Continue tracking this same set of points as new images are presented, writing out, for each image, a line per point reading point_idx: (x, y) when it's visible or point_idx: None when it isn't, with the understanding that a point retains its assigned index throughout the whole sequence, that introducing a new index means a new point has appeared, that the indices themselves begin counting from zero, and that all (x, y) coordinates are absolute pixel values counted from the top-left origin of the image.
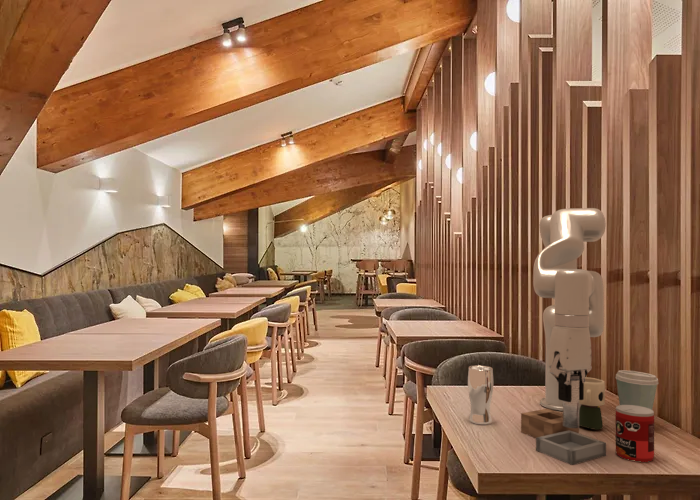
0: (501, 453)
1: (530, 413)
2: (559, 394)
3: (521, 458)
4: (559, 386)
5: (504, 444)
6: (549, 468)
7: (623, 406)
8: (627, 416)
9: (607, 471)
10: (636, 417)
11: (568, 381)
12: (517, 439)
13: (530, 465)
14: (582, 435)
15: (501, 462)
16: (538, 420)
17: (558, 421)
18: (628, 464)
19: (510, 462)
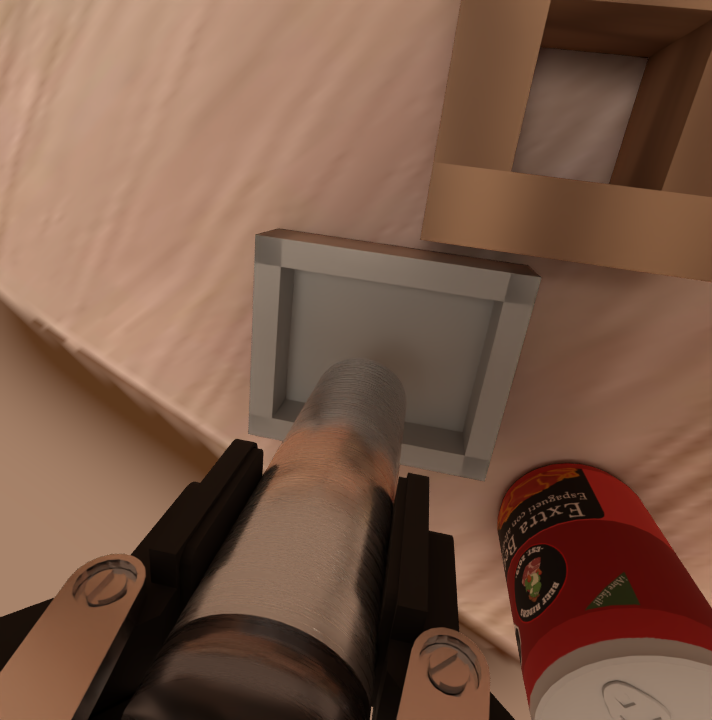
0: (108, 152)
1: None
2: (186, 489)
3: (147, 248)
4: (140, 546)
5: (207, 67)
6: (169, 372)
7: (700, 678)
8: (527, 692)
9: None
10: None
11: (132, 696)
12: (334, 50)
13: (127, 313)
14: (504, 368)
15: (44, 224)
16: (443, 106)
17: (508, 232)
18: (453, 527)
19: (77, 247)
